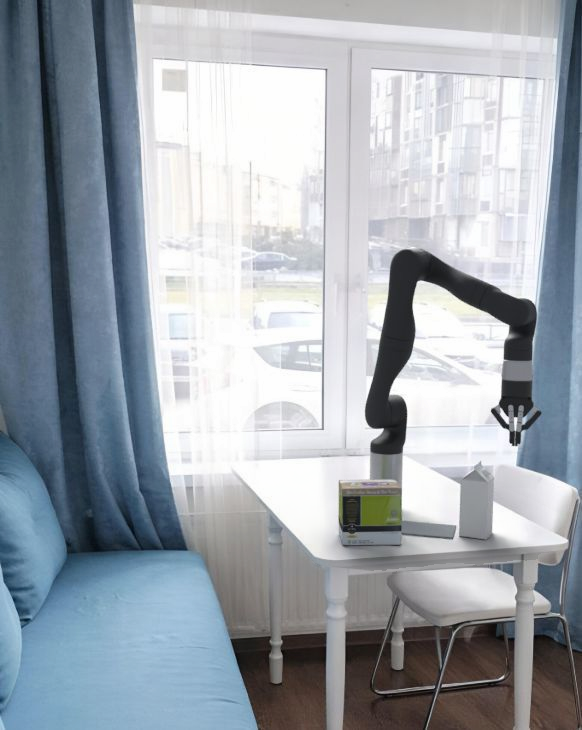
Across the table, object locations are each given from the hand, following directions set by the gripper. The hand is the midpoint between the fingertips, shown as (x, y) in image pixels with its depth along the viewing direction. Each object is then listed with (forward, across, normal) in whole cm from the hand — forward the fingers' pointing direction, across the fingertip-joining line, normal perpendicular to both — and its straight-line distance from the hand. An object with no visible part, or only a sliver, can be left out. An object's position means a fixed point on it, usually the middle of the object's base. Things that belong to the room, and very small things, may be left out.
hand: (514, 445), depth 210 cm
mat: (+24, +24, 0) cm, 34 cm away
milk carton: (+24, +9, 0) cm, 26 cm away
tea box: (+24, +35, +12) cm, 44 cm away
